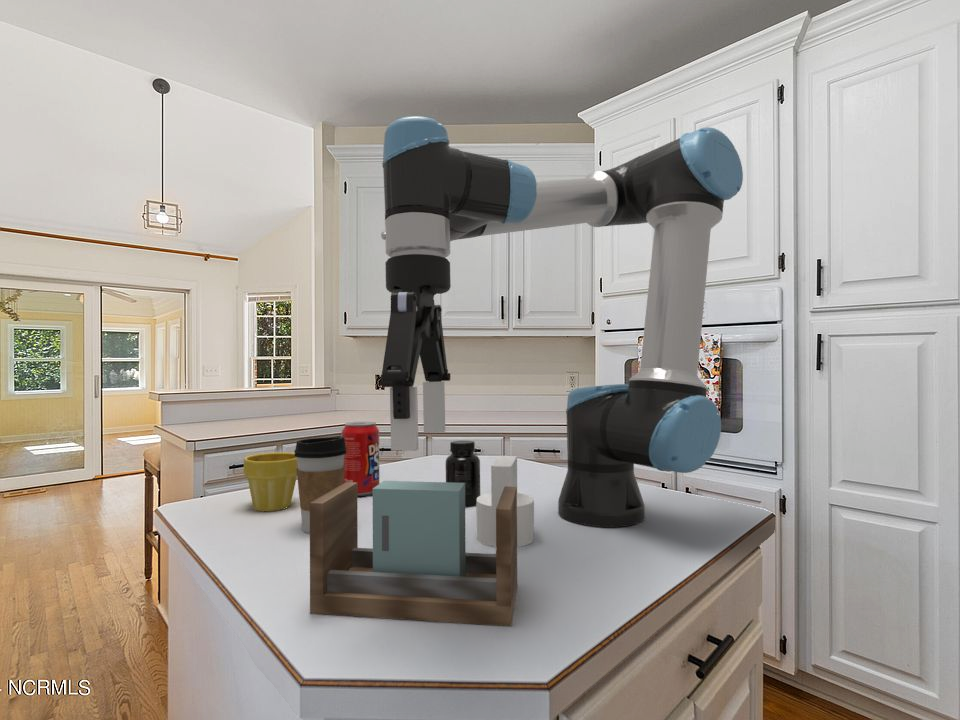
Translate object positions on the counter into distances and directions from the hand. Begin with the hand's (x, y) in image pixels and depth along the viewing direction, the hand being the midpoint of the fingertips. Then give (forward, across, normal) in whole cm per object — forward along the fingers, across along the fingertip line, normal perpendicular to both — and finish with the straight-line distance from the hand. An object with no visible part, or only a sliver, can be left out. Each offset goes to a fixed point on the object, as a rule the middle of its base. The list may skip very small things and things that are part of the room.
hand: (421, 440), depth 59 cm
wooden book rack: (+18, 0, 0) cm, 18 cm away
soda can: (+19, -46, -26) cm, 55 cm away
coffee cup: (+18, -23, -24) cm, 37 cm away
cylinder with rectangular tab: (+19, -22, +8) cm, 30 cm away
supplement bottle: (+19, -41, -2) cm, 45 cm away
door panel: (+16, 0, 0) cm, 16 cm away
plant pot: (+18, -34, -38) cm, 54 cm away
